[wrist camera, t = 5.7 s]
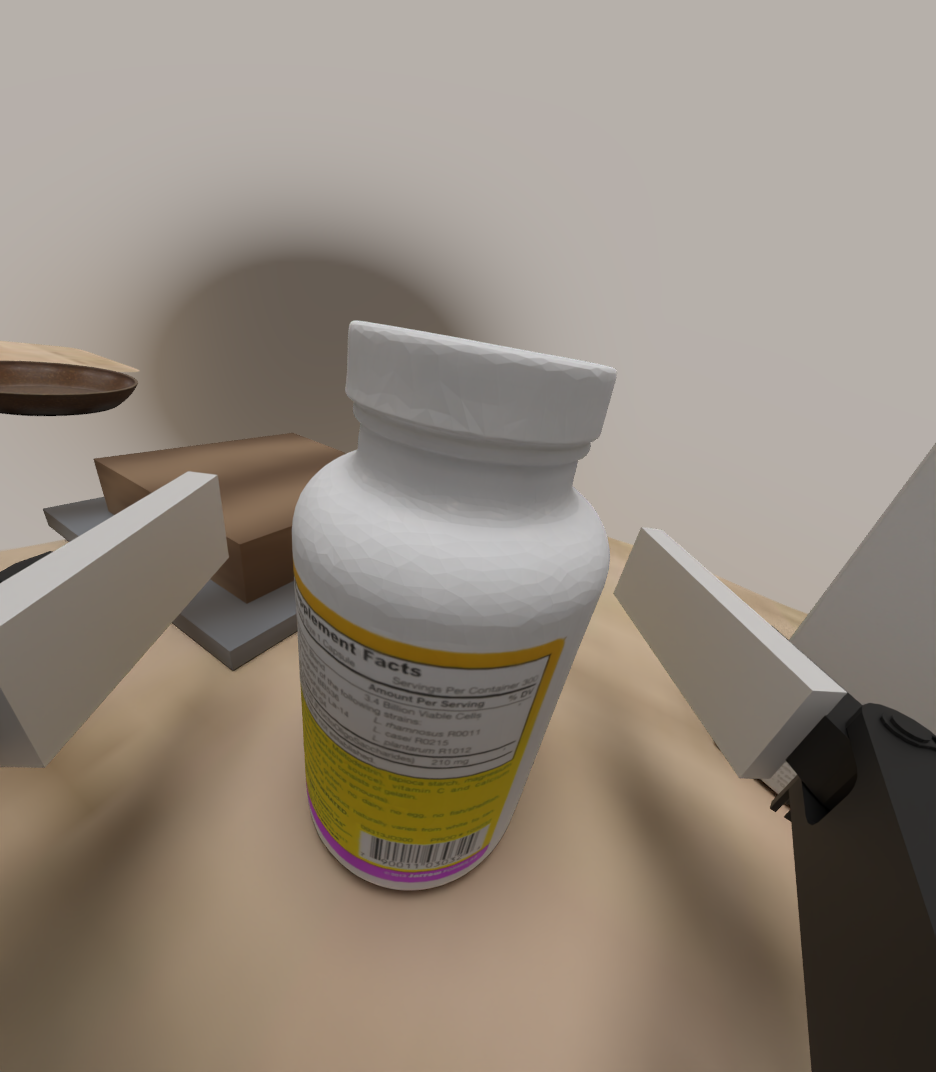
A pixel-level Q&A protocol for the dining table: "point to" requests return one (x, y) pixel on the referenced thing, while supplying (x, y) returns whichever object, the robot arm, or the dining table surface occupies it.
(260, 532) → the pedestal
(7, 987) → the dining table surface
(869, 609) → the supplement box
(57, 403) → the saucer
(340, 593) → the supplement bottle
